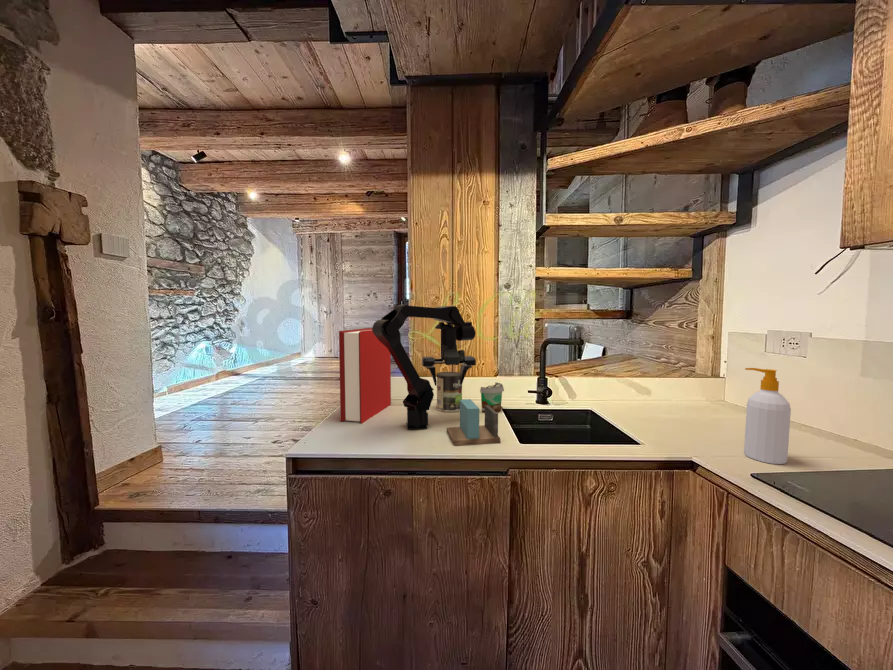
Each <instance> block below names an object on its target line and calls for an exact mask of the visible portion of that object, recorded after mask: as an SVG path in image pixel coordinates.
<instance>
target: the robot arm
mask: <svg viewBox="0 0 893 670" xmlns="http://www.w3.org/2000/svg"><path fill="white" fill-rule="evenodd" d="M408 318H423V319H424V318H425V319H433V320H435V321H438V324H437V325H436V326H435V329H436V330H440V358H435V357H434V356H423V357H421V365H422V367H424V368H426V369H427V370H428V371H430V372H429V373H430V374H431V377H432V380H433V383H434V386H435V387H437V373H436V366H435V365H440V364H442V365H446V366H453V365H454V366H459V365H460V371H459V373H460V385H462V386H463V382H464V380H465V377H466V374H467V372H468V371H469V369H472V368H473V366H476V365H477V361H476V360H477V359H476V358H475V357H474V356H472V355H466V352H465V350H458V345H457V343H458V342H461V341H463V342H464V341H465V342H466V341H472V340H474V339H475V337H476V333H477V332H476V329H475V327H474V326H473V322H471V321H465V320H464V318H463V317H462V315H461V313H460V310H459V308H458V307H457V306H455V305H443V306H442V305H441V306H436V307H430V306H429V307H428V306H427V307H426V306H416V305H408V304H398V305H396V306H395V307H394V308H393V309H392V310H391V311H389V312H388V313H387V314H385V315H384V316H383V317H381V319H377V320H376V321H375V322H374V323H373V325H372V327H371V328H372V331H373V334H374V335H375V336H376V337H377V339H378V340H379V341H380V342H381V343H382V344H383V345H385V346H386V347H387V348H388V350H389V352H390V354H391V358H392V359H393V361H394V362H395V364H396V366H397V368H398V369H399V371H400V373H401V374H402V377H403V378H404V380H405V382H406V390H407V396H405V398H404V399H403V400H402V404H403V407H404V408H406V428H407V430H426V429H428V426H429V412H428V411H429V410H430V409H431V405H432V401H433V399H434V396H435V394H434V390H435V389H434V388H433V386H432V385H431V382H430V381H429V379H426V378H423V377H420V374H419V373H418V371H417V369H416V368H415V366H414V364H413V362H412V360H411V358H410V357H409V355H408V353H407V351H406V350H405V348H404V345H403V343H402V337H401V330H400V329H401V327H403V326H404V323H406V321H407V319H408Z"/></svg>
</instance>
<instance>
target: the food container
mask: <svg viewBox="0 0 893 670" xmlns="http://www.w3.org/2000/svg"><path fill="white" fill-rule="evenodd" d="M494 383H495V384H493V385H488V386H486V387H485V386H480V390H479V392H480V398H481V413H483V414H485V405H489V406H490V407H491V408H492V409H493V410H495V411H496V412H497V413H499V412H501V411H502V410H501V409H502V398H503V392H504V391H505V388H504V385H503V384H502V383H500V382H494Z"/></svg>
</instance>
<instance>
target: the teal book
mask: <svg viewBox="0 0 893 670" xmlns="http://www.w3.org/2000/svg"><path fill="white" fill-rule="evenodd" d="M479 426H480V408H479V406H478V405H477V404H475V402H474V401H473V400H471V398H469V399H466V398H465V399H462V400H460V411H459V427H460V429H461V430H462V432H463V433H464V435H465V436H466V438H467V439H479Z"/></svg>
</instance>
